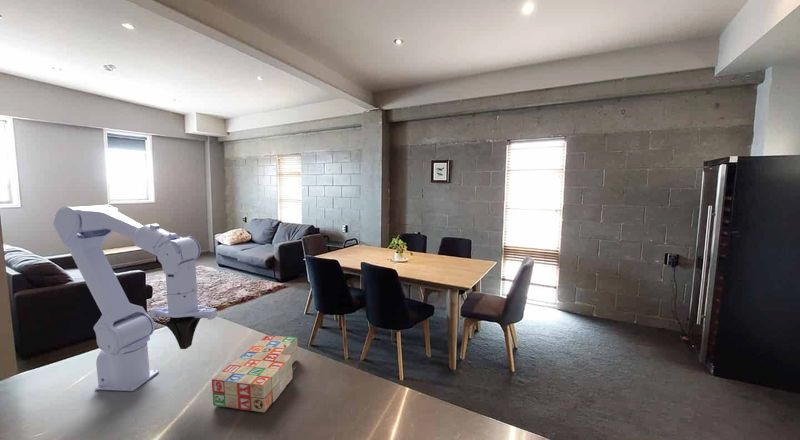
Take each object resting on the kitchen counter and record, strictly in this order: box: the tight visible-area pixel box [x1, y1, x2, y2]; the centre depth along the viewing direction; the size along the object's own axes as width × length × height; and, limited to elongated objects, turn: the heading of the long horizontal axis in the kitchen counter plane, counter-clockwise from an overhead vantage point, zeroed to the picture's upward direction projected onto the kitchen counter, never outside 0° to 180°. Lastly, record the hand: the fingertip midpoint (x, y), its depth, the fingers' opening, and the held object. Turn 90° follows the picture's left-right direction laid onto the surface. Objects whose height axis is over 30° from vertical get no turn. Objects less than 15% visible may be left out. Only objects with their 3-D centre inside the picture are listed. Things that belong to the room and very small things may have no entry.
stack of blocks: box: [211, 335, 299, 413], centre depth 79 cm, size 21×6×12 cm
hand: (186, 347), depth 76 cm, fingers closed
